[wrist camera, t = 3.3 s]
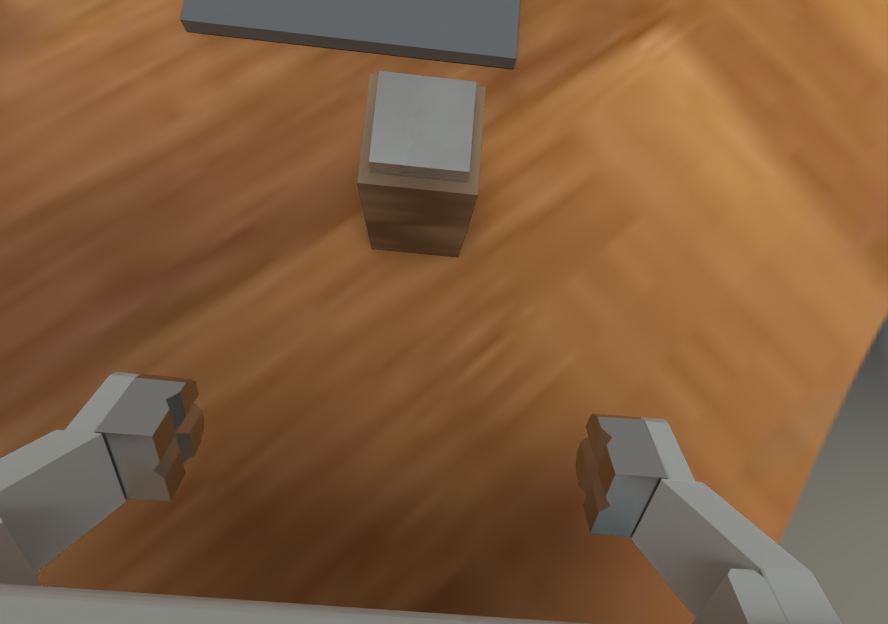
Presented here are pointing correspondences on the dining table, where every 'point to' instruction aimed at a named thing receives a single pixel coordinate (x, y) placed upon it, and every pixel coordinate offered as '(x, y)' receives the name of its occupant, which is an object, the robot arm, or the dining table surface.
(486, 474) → the dining table surface
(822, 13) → the dining table surface
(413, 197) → the plug
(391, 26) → the end holder
